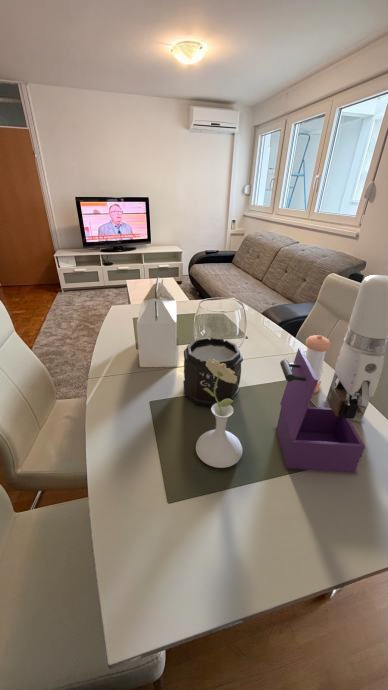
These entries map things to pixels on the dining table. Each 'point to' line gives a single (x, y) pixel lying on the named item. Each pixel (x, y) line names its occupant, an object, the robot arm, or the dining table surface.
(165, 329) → the gable box
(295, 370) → the lid
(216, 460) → the flower in vase
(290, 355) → the dining table surface
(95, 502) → the dining table surface
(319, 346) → the pepper shaker
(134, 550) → the dining table surface
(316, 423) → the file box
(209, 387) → the black pot
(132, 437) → the dining table surface
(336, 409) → the block
